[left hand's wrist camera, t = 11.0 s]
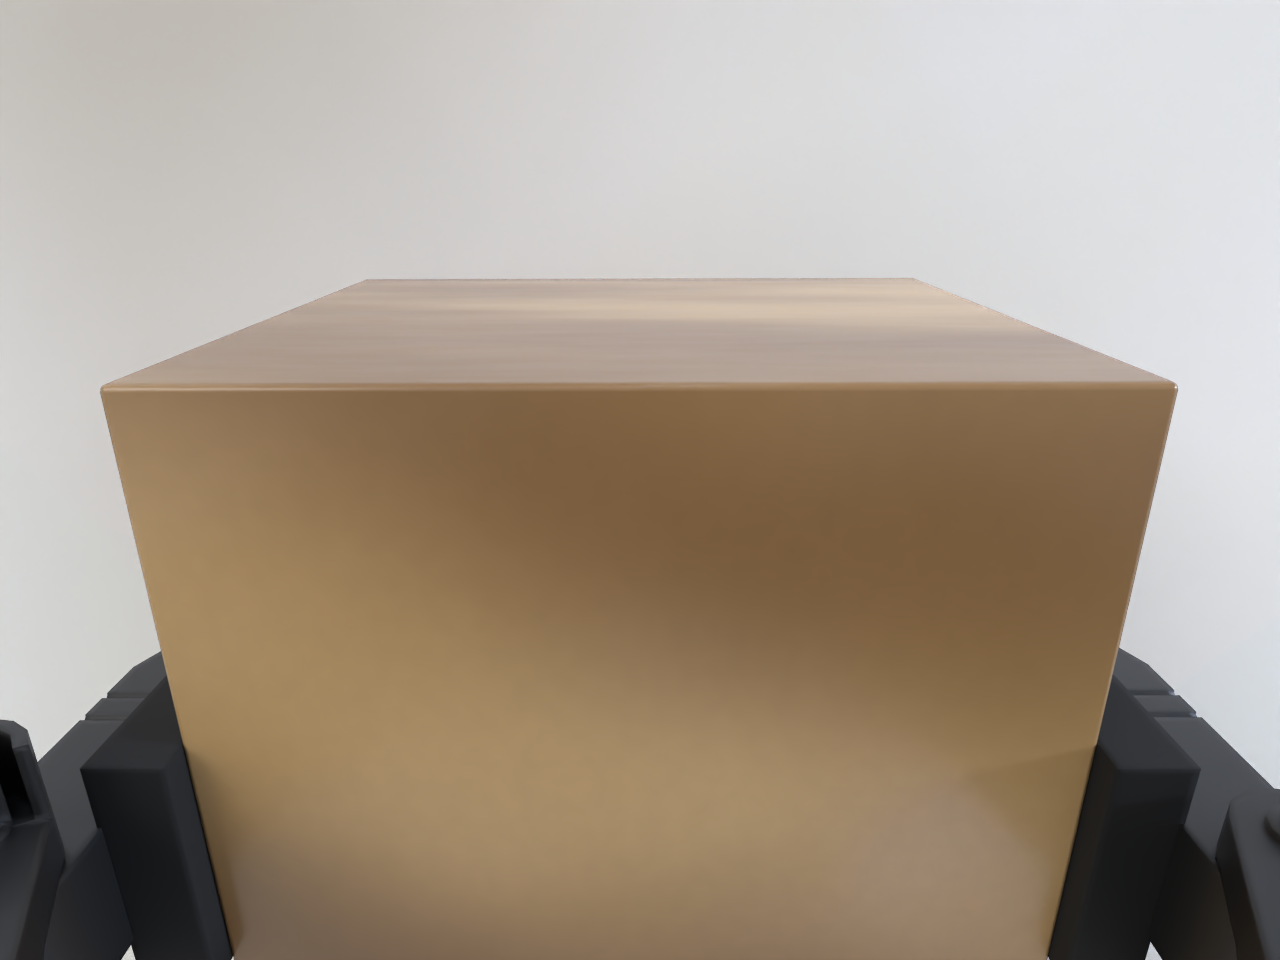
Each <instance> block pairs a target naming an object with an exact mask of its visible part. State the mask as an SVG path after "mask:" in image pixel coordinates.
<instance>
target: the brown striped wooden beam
mask: <svg viewBox="0 0 1280 960" xmlns="http://www.w3.org/2000/svg"><path fill="white" fill-rule="evenodd" d="M1177 392H1178V388H1177V384H1176V383H1174V382H1172V381H1169V380H1167V379H1164V378H1162V377H1159V376H1157V375H1154V374H1152V373H1149V372H1147V371H1144V370H1142V369H1139V368H1137V367H1134V366H1132V365H1129V364H1127V363H1124V362H1122V361H1119V360H1117V359H1114V358H1112V357H1109V356H1107V355H1104V354H1102V353H1099V352H1097V351H1094V350H1092V349H1089V348H1087V347H1084V346H1082V345H1079V344H1076V343H1074V342H1071V341H1069V340H1066V339H1064V338H1061V337H1059V336H1056V335H1054V334H1051V333H1049V332H1046V331H1044V330H1041V329H1039V328H1036V327H1034V326H1031V325H1029V324H1026V323H1024V322H1021V321H1019V320H1016V319H1014V318H1011V317H1009V316H1006V315H1004V314H1001V313H999V312H996V311H994V310H991V309H989V308H986V307H984V306H981V305H979V304H976V303H974V302H971V301H969V300H966V299H963V298H961V297H958V296H956V295H953V294H951V293H948V292H946V291H943V290H941V289H938V288H936V287H933V286H931V285H928V284H926V283H923V282H921V281H918V280H916V279H913V278H763V279H377V280H364V281H362V282H359V283H357V284H354V285H352V286H349V287H347V288H344V289H342V290H339V291H337V292H334V293H332V294H329V295H327V296H324V297H322V298H319V299H317V300H315V301H312V302H310V303H307V304H305V305H302V306H300V307H297V308H295V309H292V310H290V311H287V312H285V313H282V314H280V315H277V316H275V317H272V318H270V319H267V320H265V321H262V322H260V323H257V324H255V325H252V326H250V327H247V328H245V329H242V330H240V331H237V332H235V333H232V334H230V335H227V336H225V337H222V338H220V339H217V340H215V341H212V342H210V343H207V344H205V345H202V346H200V347H197V348H195V349H192V350H190V351H187V352H185V353H182V354H180V355H177V356H175V357H172V358H170V359H167V360H165V361H162V362H160V363H158V364H155V365H153V366H150V367H148V368H145V369H143V370H140V371H138V372H135V373H133V374H130V375H128V376H125V377H123V378H120V379H118V380H115V381H113V382H110V383H108V384H105V385H103V386H102V387H101V391H100V394H101V398H102V402H103V406H104V411H105V415H106V419H107V423H108V427H109V432H110V436H111V440H112V444H113V449H114V453H115V457H116V461H117V466H118V470H119V474H120V478H121V483H122V487H123V491H124V495H125V499H126V504H127V508H128V512H129V516H130V521H131V525H132V529H133V533H134V538H135V542H136V546H137V550H138V555H139V559H140V563H141V567H142V572H143V576H144V580H145V584H146V588H147V593H148V597H149V601H150V605H151V610H152V614H153V618H154V622H155V627H156V631H157V635H158V639H159V644H160V648H161V652H162V656H163V660H164V665H165V669H166V673H167V677H168V682H169V686H170V690H171V694H172V699H173V703H174V707H175V711H176V716H177V720H178V724H179V728H180V732H181V737H182V741H183V745H184V749H185V754H186V758H187V762H188V766H189V771H190V775H191V779H192V783H193V788H194V792H195V796H196V800H197V804H198V809H199V813H200V817H201V821H202V826H203V830H204V834H205V838H206V843H207V847H208V851H209V855H210V860H211V864H212V868H213V872H214V877H215V881H216V885H217V889H218V893H219V898H220V902H221V906H222V910H223V915H224V919H225V923H226V927H227V932H228V936H229V940H230V944H231V949H232V953H233V957H234V960H1047V958H1048V953H1049V949H1050V944H1051V940H1052V936H1053V931H1054V927H1055V923H1056V918H1057V914H1058V910H1059V905H1060V901H1061V897H1062V892H1063V888H1064V884H1065V879H1066V875H1067V870H1068V866H1069V862H1070V857H1071V853H1072V849H1073V844H1074V840H1075V836H1076V831H1077V827H1078V823H1079V818H1080V814H1081V810H1082V805H1083V801H1084V796H1085V792H1086V788H1087V783H1088V779H1089V775H1090V770H1091V766H1092V762H1093V757H1094V753H1095V749H1096V744H1097V740H1098V736H1099V731H1100V727H1101V722H1102V718H1103V714H1104V709H1105V705H1106V701H1107V696H1108V692H1109V688H1110V683H1111V679H1112V675H1113V670H1114V666H1115V662H1116V657H1117V653H1118V648H1119V644H1120V640H1121V635H1122V631H1123V627H1124V622H1125V618H1126V614H1127V609H1128V605H1129V601H1130V596H1131V592H1132V588H1133V583H1134V579H1135V574H1136V570H1137V566H1138V561H1139V557H1140V553H1141V548H1142V544H1143V540H1144V535H1145V531H1146V527H1147V522H1148V518H1149V514H1150V509H1151V505H1152V500H1153V496H1154V492H1155V487H1156V483H1157V479H1158V474H1159V470H1160V466H1161V461H1162V457H1163V453H1164V448H1165V444H1166V440H1167V435H1168V431H1169V426H1170V422H1171V418H1172V413H1173V409H1174V405H1175V400H1176V396H1177Z"/></svg>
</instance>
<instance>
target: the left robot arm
mask: <svg viewBox="0 0 1280 960" xmlns="http://www.w3.org/2000/svg"><path fill="white" fill-rule="evenodd" d="M1150 941H1151V943H1152V945H1153V946H1154V948H1155V949H1156V951H1157V952H1158V954H1159V955H1160V957H1161V958H1162V960H1280V789H1274V788H1273V787H1272V786H1271V785H1270V784H1269V783H1268V782H1267V781H1266V780H1265V779H1264V778H1263V777H1262V776H1261V775H1260V774H1259V773H1258V772H1257V771H1256V770H1255V769H1254V768H1253V767H1252V766H1251V765H1250V764H1249V763H1248V762H1247V761H1245V760H1244V759H1243V758H1242V757H1241V756H1240V755H1239V754H1238V753H1237V752H1236V751H1235V750H1234V749H1233V748H1232V747H1231V746H1230V745H1229V744H1228V743H1227V742H1226V741H1225V740H1224V739H1223V738H1222V737H1221V736H1220V735H1219V734H1218V733H1217V732H1216V731H1215V730H1214V729H1213V728H1212V727H1211V726H1210V725H1209V724H1208V723H1207V722H1206V721H1205V720H1204V719H1203V718H1202V717H1197V716H1196V711H1195V710H1194V709H1193V708H1192V707H1191V706H1190V705H1189V704H1188V703H1187V702H1186V701H1185V700H1183V699H1182V698H1181V697H1180V696H1179V695H1175V694H1174V690H1173V689H1172V688H1171V687H1170V686H1169V685H1168V684H1167V683H1166V682H1165V681H1164V680H1163V679H1162V678H1161V677H1160V676H1159V675H1158V674H1157V673H1156V672H1155V671H1154V670H1153V669H1152V668H1151V667H1150V666H1149V665H1148V664H1146V663H1144V662H1143V661H1141V660H1139V659H1138V658H1136V657H1134V656H1132V655H1131V654H1129V653H1127V652H1125V651H1124V650H1122V649H1120V648H1118V653H1117V657H1116V662H1115V666H1114V670H1113V675H1112V679H1111V683H1110V688H1109V692H1108V696H1107V701H1106V705H1105V709H1104V714H1103V718H1102V722H1101V727H1100V731H1099V736H1098V740H1097V744H1096V749H1095V753H1094V757H1093V762H1092V766H1091V770H1090V775H1089V779H1088V783H1087V788H1086V792H1085V796H1084V801H1083V805H1082V810H1081V814H1080V818H1079V823H1078V827H1077V831H1076V836H1075V840H1074V844H1073V849H1072V853H1071V857H1070V862H1069V866H1068V870H1067V875H1066V879H1065V884H1064V888H1063V892H1062V897H1061V901H1060V905H1059V910H1058V914H1057V918H1056V923H1055V927H1054V931H1053V936H1052V940H1051V944H1050V949H1049V953H1048V958H1049V959H1050V960H1145V958H1146V955H1147V951H1148V948H1149V945H1150ZM130 945H131V946H132V949H133V952H134V956H135V959H136V960H231V959H232V957H233V953H232V949H231V944H230V940H229V936H228V932H227V927H226V923H225V919H224V915H223V910H222V906H221V902H220V898H219V893H218V889H217V885H216V881H215V877H214V872H213V868H212V864H211V860H210V855H209V851H208V847H207V843H206V838H205V834H204V830H203V826H202V821H201V817H200V813H199V809H198V804H197V800H196V796H195V792H194V788H193V783H192V779H191V775H190V771H189V766H188V762H187V758H186V754H185V749H184V745H183V741H182V737H181V732H180V728H179V724H178V720H177V716H176V711H175V707H174V703H173V699H172V694H171V690H170V686H169V682H168V677H167V673H166V669H165V665H164V660H163V656H162V652H159V653H157V654H155V655H154V656H152V657H150V658H149V659H147V660H145V661H143V662H142V663H140V664H138V665H137V666H135V667H133V668H132V669H131V670H130V671H129V672H128V673H127V674H126V675H125V676H124V677H123V678H122V679H121V680H120V681H119V682H118V683H117V684H116V685H115V686H114V687H113V688H112V689H111V690H110V691H109V692H108V693H107V698H102V699H101V700H100V701H99V702H98V703H97V704H96V705H95V706H94V707H93V708H92V709H91V710H90V711H89V712H88V713H87V714H86V718H85V720H80V721H79V722H78V723H77V724H76V725H75V726H74V727H73V728H72V729H71V730H70V731H69V732H68V733H67V734H66V735H65V736H64V737H63V738H62V739H61V740H60V741H59V742H58V743H57V744H56V745H55V746H54V747H53V748H52V749H51V750H49V751H48V752H47V753H46V754H45V755H44V756H43V757H42V758H41V759H40V760H39V761H38V762H37V759H36V756H35V753H34V750H33V747H32V743H31V740H30V737H29V734H28V731H27V729H25V728H23V727H22V726H20V725H19V724H17V723H16V722H14V721H8V720H0V960H121V959H122V958H123V956H124V954H125V953H126V951H127V950H128V948H129V947H130Z"/></svg>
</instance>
